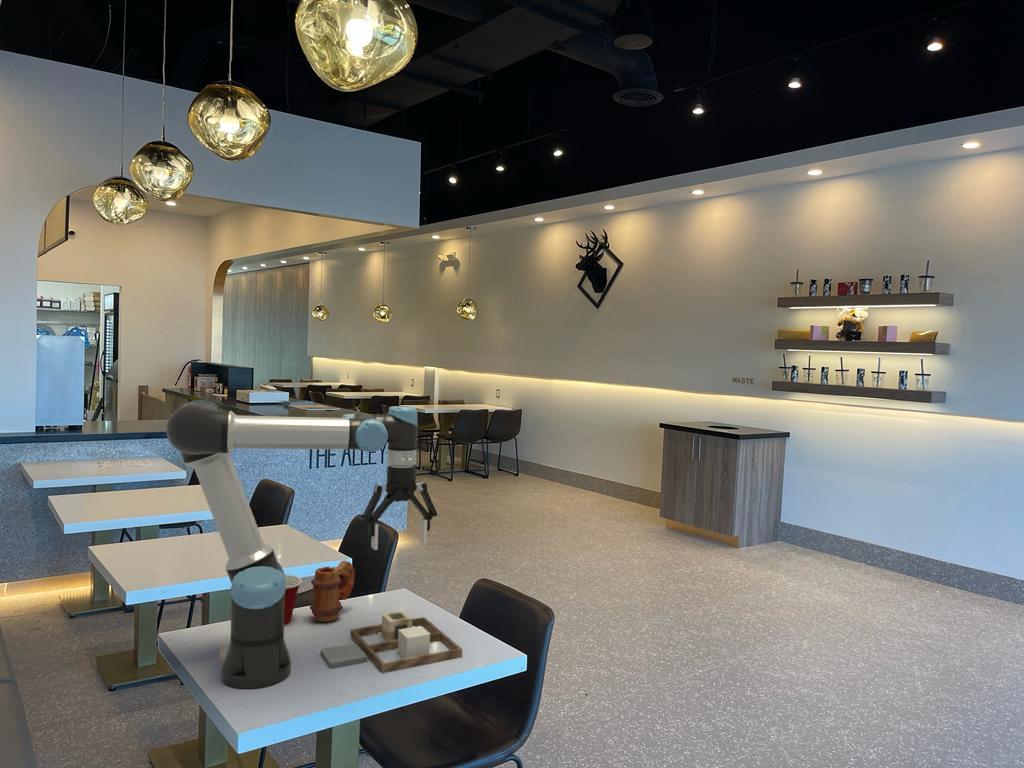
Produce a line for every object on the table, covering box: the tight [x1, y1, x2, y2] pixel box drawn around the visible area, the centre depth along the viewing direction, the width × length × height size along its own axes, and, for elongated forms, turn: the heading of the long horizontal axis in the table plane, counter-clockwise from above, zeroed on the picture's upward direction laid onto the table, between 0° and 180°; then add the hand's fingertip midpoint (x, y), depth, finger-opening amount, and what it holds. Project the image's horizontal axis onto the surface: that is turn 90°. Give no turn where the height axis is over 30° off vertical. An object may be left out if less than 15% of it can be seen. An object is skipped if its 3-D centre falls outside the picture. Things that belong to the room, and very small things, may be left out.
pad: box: [319, 642, 368, 669], centre depth 175 cm, size 9×9×1 cm
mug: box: [309, 560, 356, 623], centre depth 202 cm, size 15×8×15 cm, turn 147°
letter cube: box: [381, 611, 413, 642], centre depth 188 cm, size 6×6×6 cm
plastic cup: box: [284, 573, 303, 626], centre depth 197 cm, size 11×11×12 cm
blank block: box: [397, 626, 431, 659], centre depth 178 cm, size 6×6×6 cm
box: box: [349, 616, 463, 674], centre depth 183 cm, size 21×24×2 cm
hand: (399, 545), depth 187 cm, fingers open, 13 cm apart
